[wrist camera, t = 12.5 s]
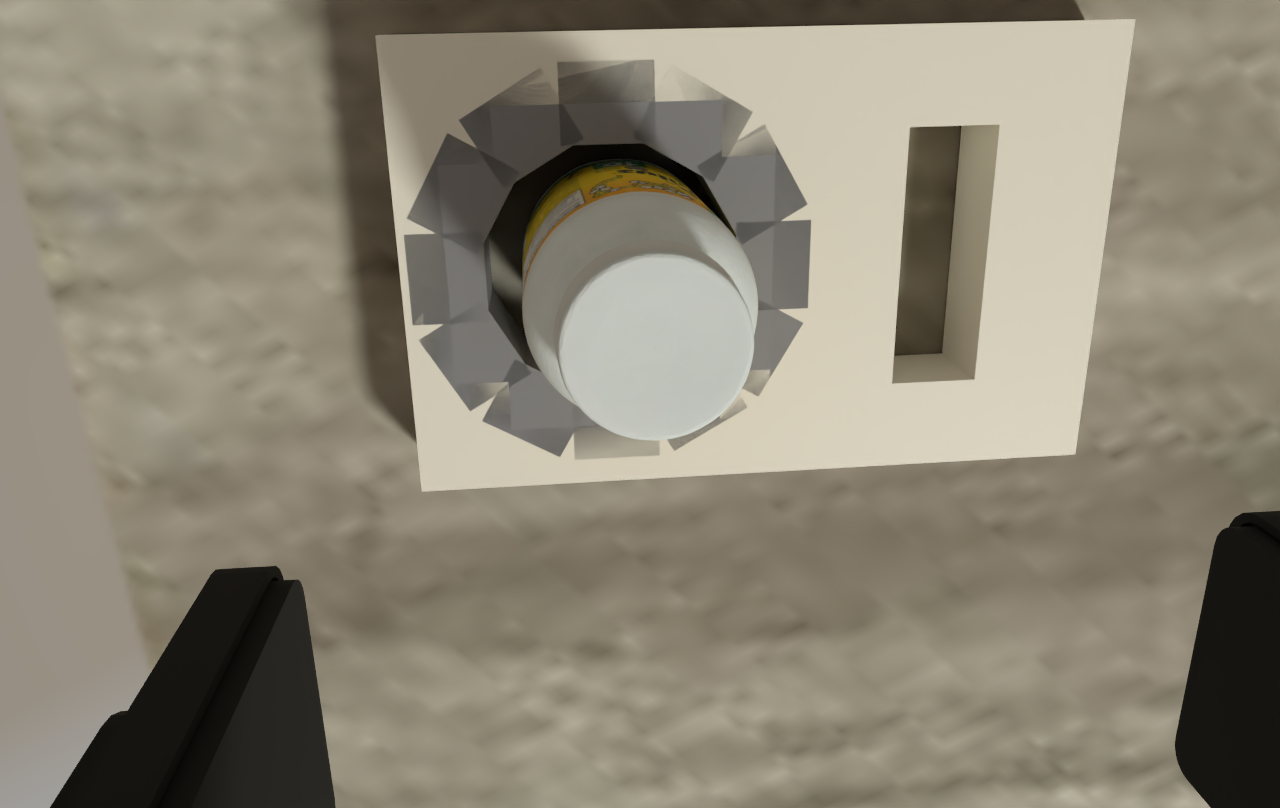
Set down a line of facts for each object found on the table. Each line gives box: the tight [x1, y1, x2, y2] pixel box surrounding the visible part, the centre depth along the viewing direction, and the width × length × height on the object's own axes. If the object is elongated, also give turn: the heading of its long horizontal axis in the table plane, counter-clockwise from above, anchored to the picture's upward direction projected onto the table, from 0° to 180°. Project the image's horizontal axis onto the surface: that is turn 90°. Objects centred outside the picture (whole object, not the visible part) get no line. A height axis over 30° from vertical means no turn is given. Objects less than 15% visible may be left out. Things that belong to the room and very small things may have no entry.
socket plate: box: [375, 19, 1135, 491], centre depth 28 cm, size 19×12×2 cm, turn 91°
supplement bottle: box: [522, 159, 758, 441], centre depth 25 cm, size 5×5×10 cm
